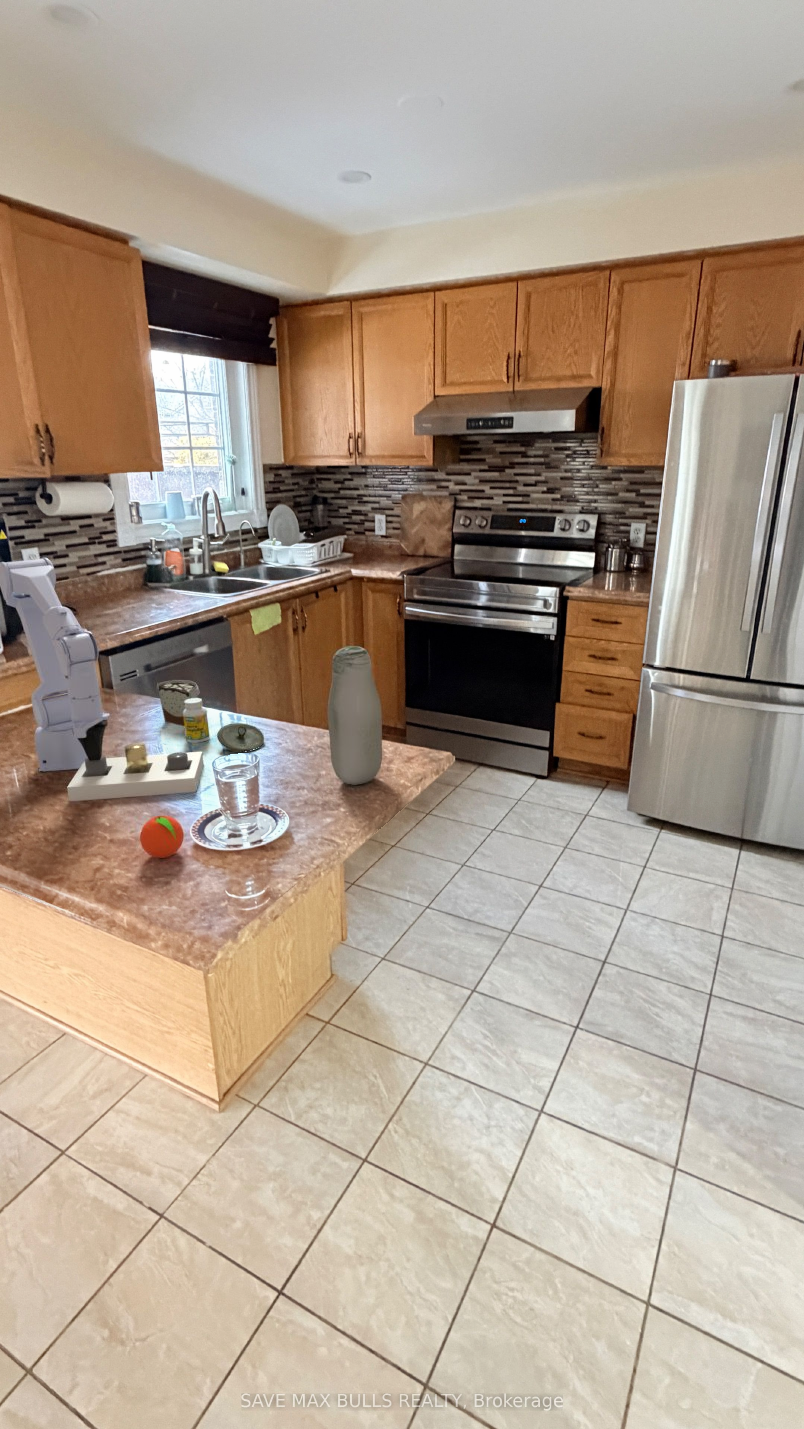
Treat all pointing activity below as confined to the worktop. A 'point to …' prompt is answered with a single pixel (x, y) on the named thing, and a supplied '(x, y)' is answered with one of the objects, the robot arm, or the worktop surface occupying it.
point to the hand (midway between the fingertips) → (95, 759)
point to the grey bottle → (354, 717)
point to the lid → (240, 737)
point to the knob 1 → (96, 767)
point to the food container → (176, 699)
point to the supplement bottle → (195, 721)
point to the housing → (137, 779)
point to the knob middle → (136, 758)
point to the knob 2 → (178, 761)
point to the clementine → (161, 836)
